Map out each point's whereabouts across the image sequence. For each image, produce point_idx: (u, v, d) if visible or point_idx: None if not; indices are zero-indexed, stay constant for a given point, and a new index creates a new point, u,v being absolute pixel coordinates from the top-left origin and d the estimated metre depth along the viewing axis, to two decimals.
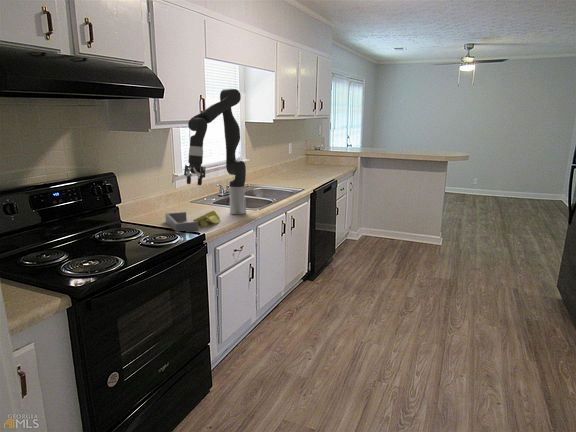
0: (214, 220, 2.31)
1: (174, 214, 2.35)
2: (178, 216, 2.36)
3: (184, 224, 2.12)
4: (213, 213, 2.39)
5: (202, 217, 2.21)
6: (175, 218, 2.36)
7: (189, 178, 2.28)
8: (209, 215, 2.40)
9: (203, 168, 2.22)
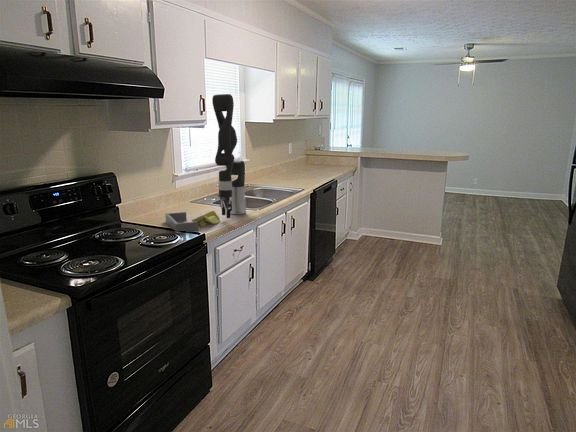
0: (213, 220, 2.31)
1: (174, 214, 2.35)
2: (178, 216, 2.36)
3: (184, 224, 2.12)
4: (213, 213, 2.39)
5: (201, 217, 2.20)
6: (175, 218, 2.36)
7: (223, 210, 2.39)
8: (209, 215, 2.39)
9: (229, 202, 2.28)
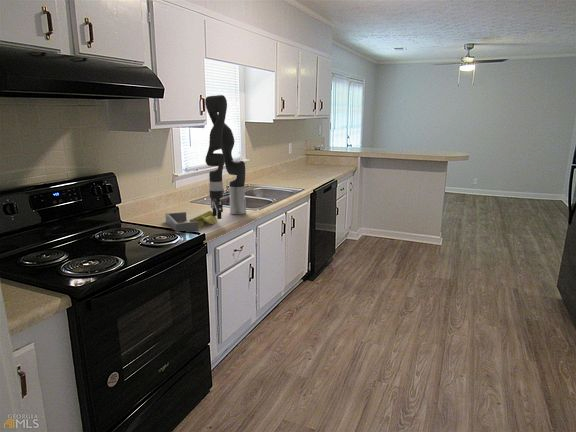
0: (210, 220, 2.31)
1: (174, 214, 2.35)
2: (178, 216, 2.36)
3: (184, 224, 2.12)
4: (210, 213, 2.39)
5: (198, 217, 2.20)
6: (175, 218, 2.36)
7: (214, 210, 2.36)
8: (206, 215, 2.39)
9: (219, 203, 2.25)
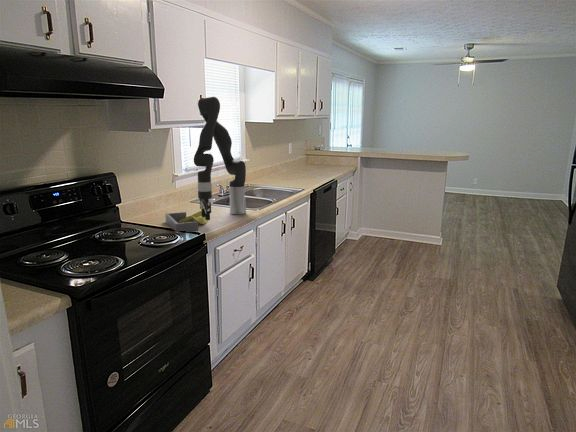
0: (201, 220, 2.30)
1: (174, 214, 2.35)
2: (178, 216, 2.36)
3: (184, 224, 2.12)
4: (201, 213, 2.38)
5: (188, 217, 2.20)
6: (175, 218, 2.36)
7: (203, 211, 2.33)
8: (197, 215, 2.39)
9: (208, 204, 2.23)
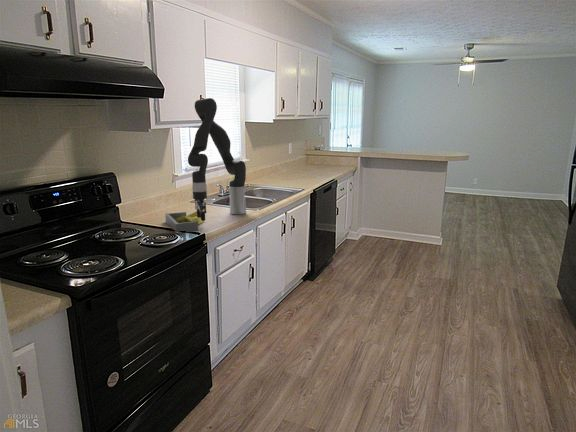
0: None
1: (174, 214, 2.35)
2: (178, 216, 2.36)
3: (184, 224, 2.12)
4: None
5: (181, 217, 2.20)
6: (175, 218, 2.36)
7: (199, 212, 2.32)
8: (194, 215, 2.38)
9: (203, 204, 2.21)
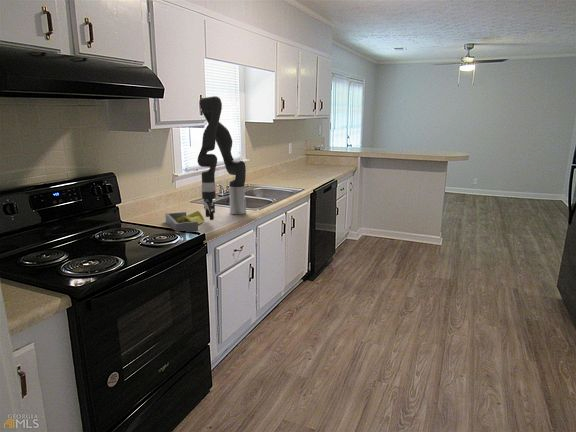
0: None
1: (174, 214, 2.35)
2: (178, 216, 2.36)
3: (184, 224, 2.12)
4: (198, 213, 2.38)
5: (181, 217, 2.20)
6: (175, 218, 2.36)
7: (207, 211, 2.35)
8: (194, 215, 2.38)
9: (212, 204, 2.24)
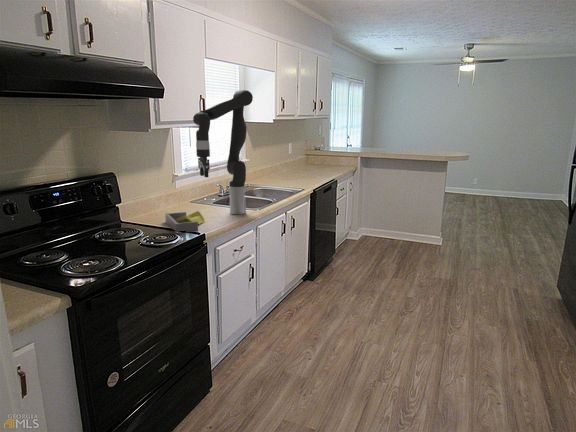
0: None
1: (174, 214, 2.35)
2: (178, 216, 2.36)
3: (184, 224, 2.12)
4: (198, 214, 2.38)
5: (182, 217, 2.19)
6: (175, 218, 2.36)
7: (202, 170, 2.43)
8: (194, 215, 2.38)
9: (206, 161, 2.32)
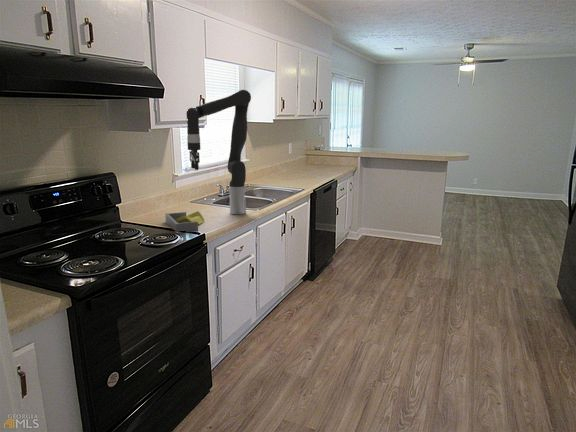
0: None
1: (174, 214, 2.35)
2: (178, 216, 2.36)
3: (184, 224, 2.12)
4: (197, 214, 2.37)
5: (182, 217, 2.19)
6: (175, 218, 2.36)
7: (193, 163, 2.53)
8: (194, 215, 2.38)
9: (196, 154, 2.43)
